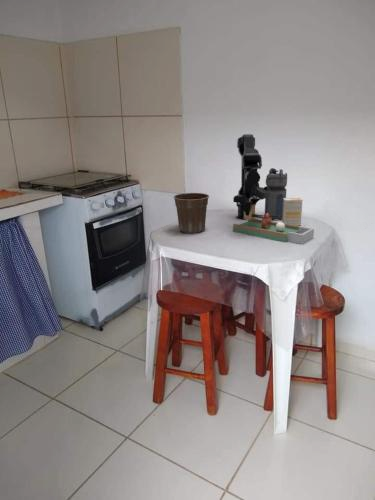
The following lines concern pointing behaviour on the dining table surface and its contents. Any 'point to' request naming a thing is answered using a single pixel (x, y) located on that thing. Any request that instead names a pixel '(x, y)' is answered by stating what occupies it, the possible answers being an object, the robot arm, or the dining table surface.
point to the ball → (280, 226)
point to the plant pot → (191, 211)
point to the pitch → (275, 231)
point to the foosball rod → (265, 218)
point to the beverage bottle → (275, 193)
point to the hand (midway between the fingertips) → (249, 214)
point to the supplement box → (292, 211)
